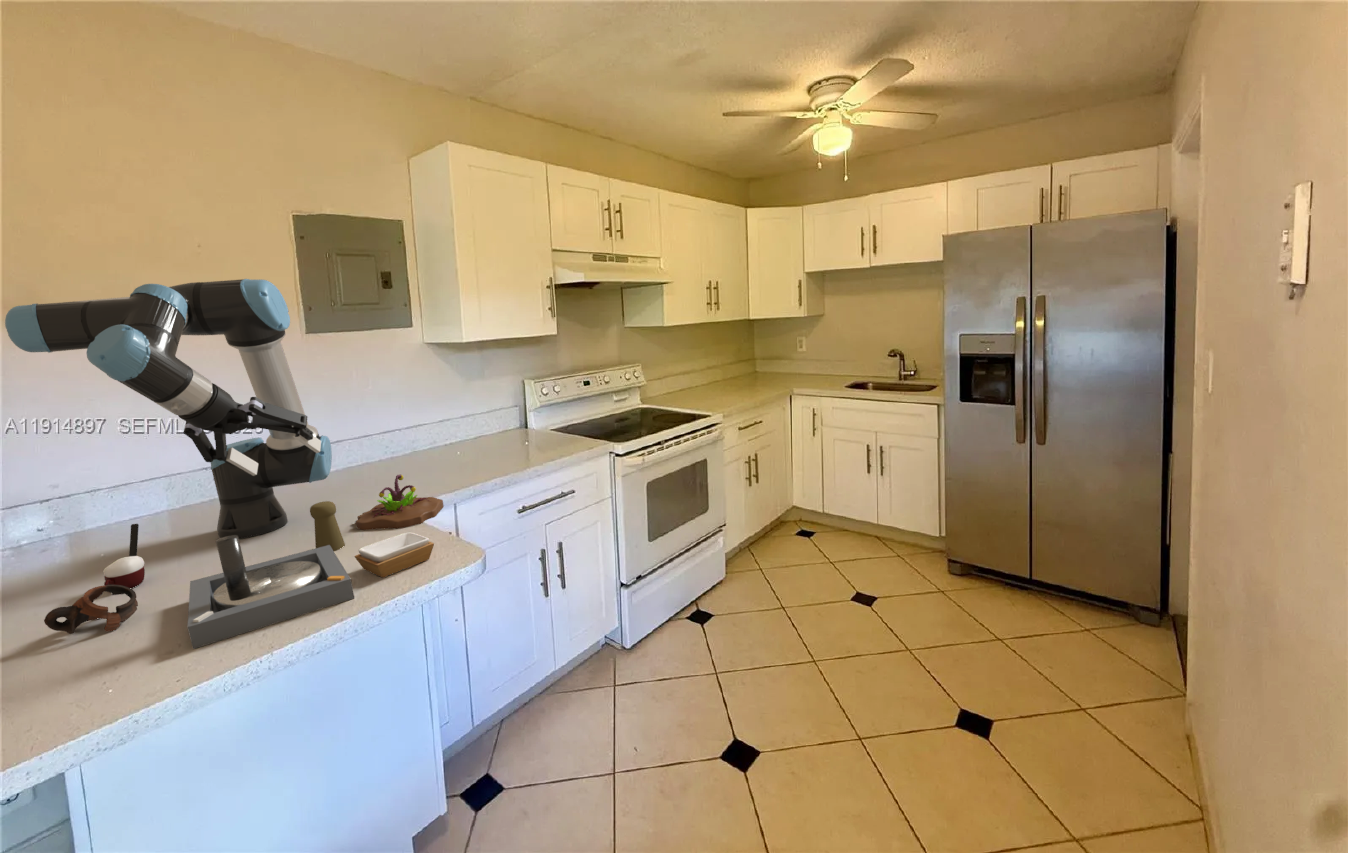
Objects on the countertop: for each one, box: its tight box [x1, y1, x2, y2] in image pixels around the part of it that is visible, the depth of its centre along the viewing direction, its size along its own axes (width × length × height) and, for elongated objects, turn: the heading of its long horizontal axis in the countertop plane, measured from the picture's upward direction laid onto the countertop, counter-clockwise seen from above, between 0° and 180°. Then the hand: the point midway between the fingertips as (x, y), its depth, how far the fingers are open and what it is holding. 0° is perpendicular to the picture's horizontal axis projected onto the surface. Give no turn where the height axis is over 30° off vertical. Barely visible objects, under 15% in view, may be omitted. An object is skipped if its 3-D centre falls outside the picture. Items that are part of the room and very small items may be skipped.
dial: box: [213, 535, 322, 611], centre depth 114 cm, size 17×17×13 cm
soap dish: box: [353, 531, 435, 578], centre depth 127 cm, size 12×10×5 cm
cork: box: [309, 500, 346, 552], centre depth 139 cm, size 6×6×11 cm
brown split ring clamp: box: [43, 584, 139, 635], centre depth 108 cm, size 12×10×8 cm
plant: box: [355, 474, 445, 531], centre depth 159 cm, size 20×20×11 cm
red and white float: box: [102, 523, 146, 589], centre depth 126 cm, size 10×6×12 cm, turn 156°
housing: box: [187, 545, 355, 650], centre depth 115 cm, size 24×24×4 cm
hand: (287, 458), depth 120 cm, fingers open, 13 cm apart
